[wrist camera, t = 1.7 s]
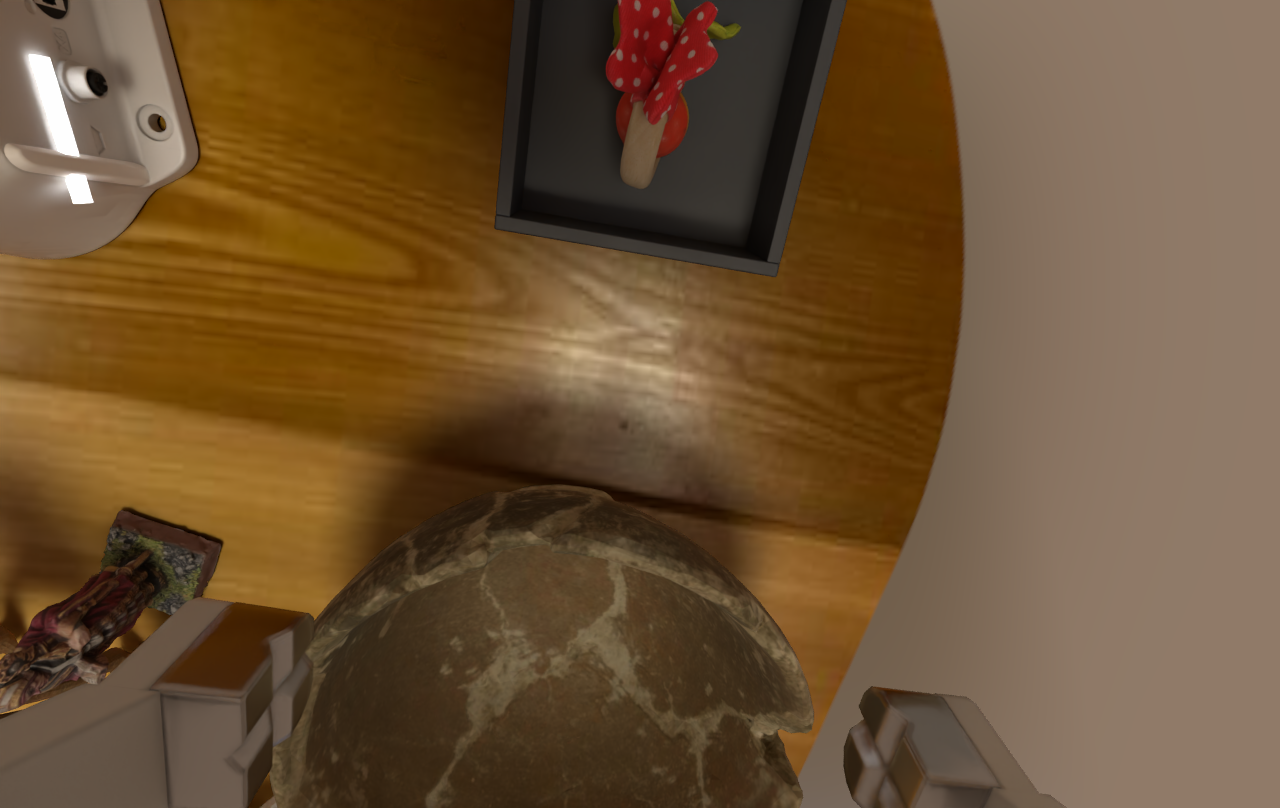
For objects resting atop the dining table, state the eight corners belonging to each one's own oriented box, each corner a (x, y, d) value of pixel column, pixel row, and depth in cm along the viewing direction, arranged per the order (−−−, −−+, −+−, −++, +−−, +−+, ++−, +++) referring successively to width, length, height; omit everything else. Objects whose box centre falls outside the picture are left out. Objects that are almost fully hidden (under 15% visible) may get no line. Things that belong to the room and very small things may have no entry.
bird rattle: (700, 153, 36) (753, -29, 30) (709, 255, 28) (783, 36, 22) (594, 129, 35) (625, -64, 29) (573, 227, 27) (609, -9, 21)
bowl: (770, 404, 40) (862, 534, 26) (740, 711, 50) (795, 924, 36) (334, 409, 38) (184, 552, 25) (393, 726, 48) (310, 956, 35)
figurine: (102, 581, 42) (-77, 735, 31) (120, 506, 40) (-65, 643, 29) (200, 612, 43) (62, 770, 32) (223, 541, 41) (83, 684, 30)
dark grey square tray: (540, -110, 30) (528, -165, 25) (824, -43, 31) (867, -81, 26) (509, 218, 35) (494, 229, 30) (752, 261, 37) (776, 277, 32)
